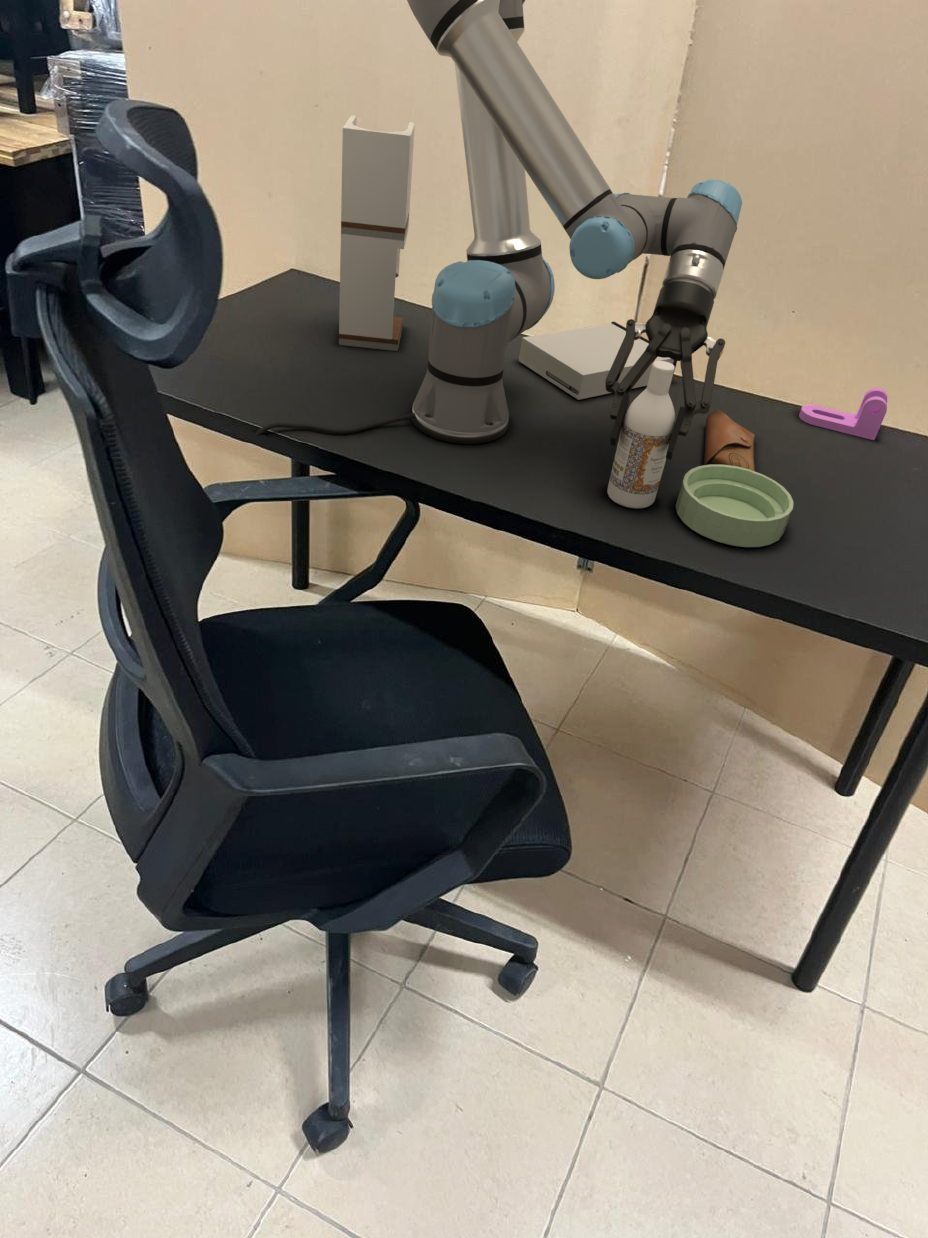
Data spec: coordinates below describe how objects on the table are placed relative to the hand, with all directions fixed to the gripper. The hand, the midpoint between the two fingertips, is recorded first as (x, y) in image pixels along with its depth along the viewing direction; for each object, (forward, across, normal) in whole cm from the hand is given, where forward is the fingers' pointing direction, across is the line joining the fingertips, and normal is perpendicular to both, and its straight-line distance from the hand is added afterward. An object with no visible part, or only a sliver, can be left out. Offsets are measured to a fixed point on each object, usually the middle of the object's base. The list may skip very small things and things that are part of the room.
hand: (640, 448), depth 120 cm
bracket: (-27, +28, +40) cm, 56 cm away
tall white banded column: (-21, -56, +34) cm, 69 cm away
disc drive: (-26, -15, +39) cm, 49 cm away
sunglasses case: (-11, +12, +24) cm, 29 cm away
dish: (+3, +14, +10) cm, 18 cm away
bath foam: (+4, 0, +9) cm, 10 cm away
